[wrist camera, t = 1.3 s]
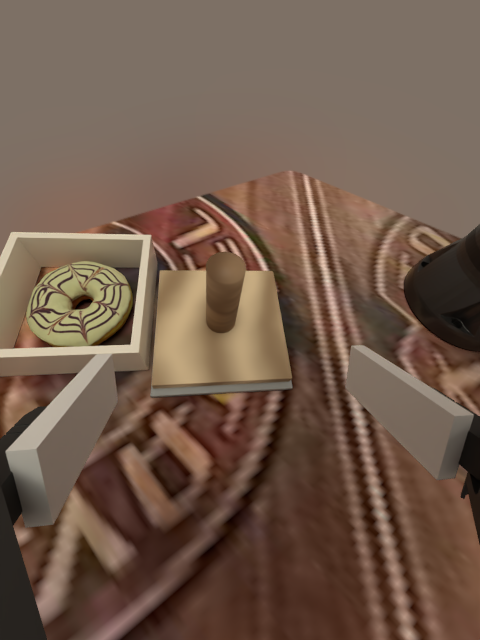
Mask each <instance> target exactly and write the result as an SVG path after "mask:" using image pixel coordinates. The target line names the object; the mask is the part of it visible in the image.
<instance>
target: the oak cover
mask: <svg viewBox="0 0 480 640" xmlns="http://www.w3.org/2000/svg"><path fill="white" fill-rule="evenodd" d="M291 379H292V374H291V368H290V363H289V357H288V352H287V346H286V341H285V335H284V330H283V324H282V319H281V313H280V308H279V302H278V296H277V291H276V285H275V280H274V274H273V271H246V266H245V263H244V261H243V260H242V259H241V258H240V257H239V256H238V255H236V254H233V253H230V252H220V253H216V254H214V255H212V256H211V257H210V258H209V259H208V261H207V263H206V271H160V278H159V291H158V305H157V318H156V332H155V345H154V359H153V372H152V387H153V389H158V388H176V387H195V386H213V385H232V384H250V383H269V382H288V381H290V380H291Z"/></svg>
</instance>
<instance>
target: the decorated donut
mask: <svg viewBox="0 0 480 640" xmlns="http://www.w3.org/2000/svg"><path fill="white" fill-rule="evenodd" d="M87 299H91V300H92V301H93V302H92V303H91V305H90V306H89V307H88V308H86V309H82V310H75V308H76V306H77V304H78V303H79V302H81V301H83V300H87ZM132 303H133V296H132V291H131V288H130V286H129V284H128V282H127V280H126V278H125V276H123V275H122V274H121V273H120V272H118V271H117V270H116V269H114V268H111V267H109V266H106V265H102V264H99V263H96V262H90V261H81V262H76V263H70V264H68V265H65V266H63V267H60V268H58V269H57V270H54V271H52V272H50V273H48V274H46V275H45V276H44V277H43V278H42V280H41V281H40V283H39V284H38V285H37V286H36V287H35V288H34V289H33V292H32V295H31V299H30V301H29V304H28V307H27V313H26V316H27V322H28V325H29V327H30V330H31V331H32V332H34V334H35V335H36V336H37V337H39V338H40V339H42V340H43V341H45V342H46V343H48V344H49V345H51V346H53V347H81V346H97V345H99V344H100V343H102V342H103V341H105V340H107V339H108V338H109V337H111V336H112V335H114V334H115V333H116V332H117V331H118V330H119V329H120V328H121V327H122V326H123V325H124V324H125V322H126V320H127V318H128V316H129V313H130V311H131V308H132Z"/></svg>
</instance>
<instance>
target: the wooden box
mask: <svg viewBox="0 0 480 640" xmlns="http://www.w3.org/2000/svg"><path fill="white" fill-rule="evenodd" d="M81 261H90V262H96V263H99V264H102V265H106V266H109V267H118V268H140V271H139V280H138V288H137V296H136V305H135V313H134V321H133V329H132V338H131V345H112V346H81V347H49V348H18V349H13V348H14V345H15V342H16V339H17V337H18V334H19V331H20V328H21V325H22V322H23V319H24V316H25V313H26V310H27V307H28V304H29V301H30V299H31V295H32V292H33V289H34V287H35V284H36V281H37V279H38V276H39V273H40V270H41V267H63V266H65V265H68V264H70V263H76V262H81ZM156 276H157V259H156V255H155V250H154V246H153V242H152V238H151V235H124V234H78V233H30V232H11V234H10V237H9V239H8V241H7V243H6V246H5V248H4V250H3V252H2V254H1V257H0V376H23V375H45V374H68V373H79V372H80V371H81V370H82V369H83V368H84V367H85V366H86V365H87V364H88V363H89V362H90V361H91V359H92V358H93V357H94V356H95V355H96V354H112V356H113V364H114V371H135V370H149V362H150V349H151V337H152V325H153V313H154V300H155V288H156Z"/></svg>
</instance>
